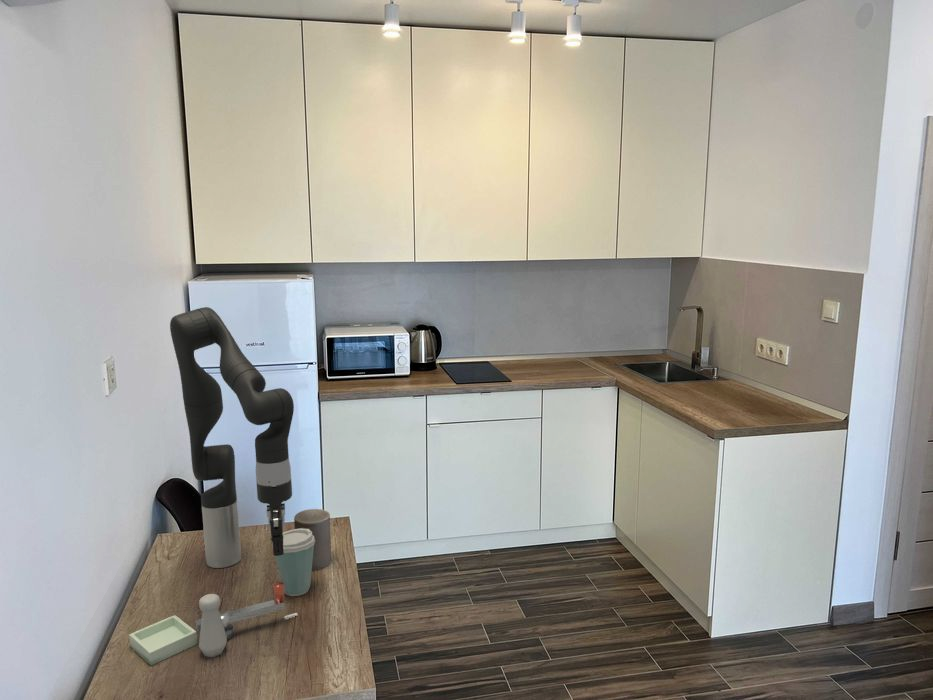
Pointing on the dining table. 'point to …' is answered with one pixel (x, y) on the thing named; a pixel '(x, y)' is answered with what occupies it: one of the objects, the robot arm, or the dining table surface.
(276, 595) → the crank
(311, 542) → the disposable coffee cup
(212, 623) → the salt shaker
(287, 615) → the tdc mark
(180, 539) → the dining table surface
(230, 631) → the crank base
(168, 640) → the tray
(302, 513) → the pillar candle
